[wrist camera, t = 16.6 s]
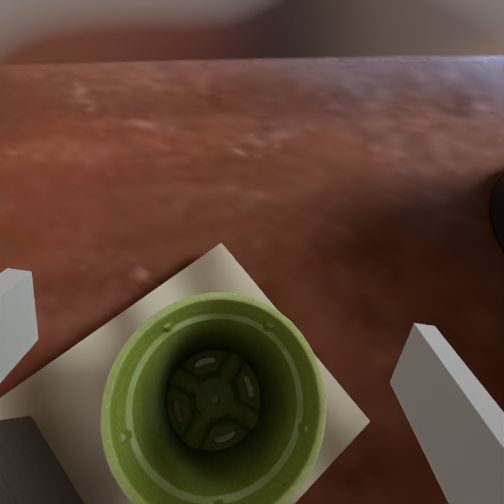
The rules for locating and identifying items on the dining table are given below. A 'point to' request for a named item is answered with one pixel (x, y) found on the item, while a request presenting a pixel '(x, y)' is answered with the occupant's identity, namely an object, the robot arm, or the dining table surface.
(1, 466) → the bookend
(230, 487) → the plant pot
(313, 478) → the shelf board
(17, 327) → the robot arm
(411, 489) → the dining table surface
